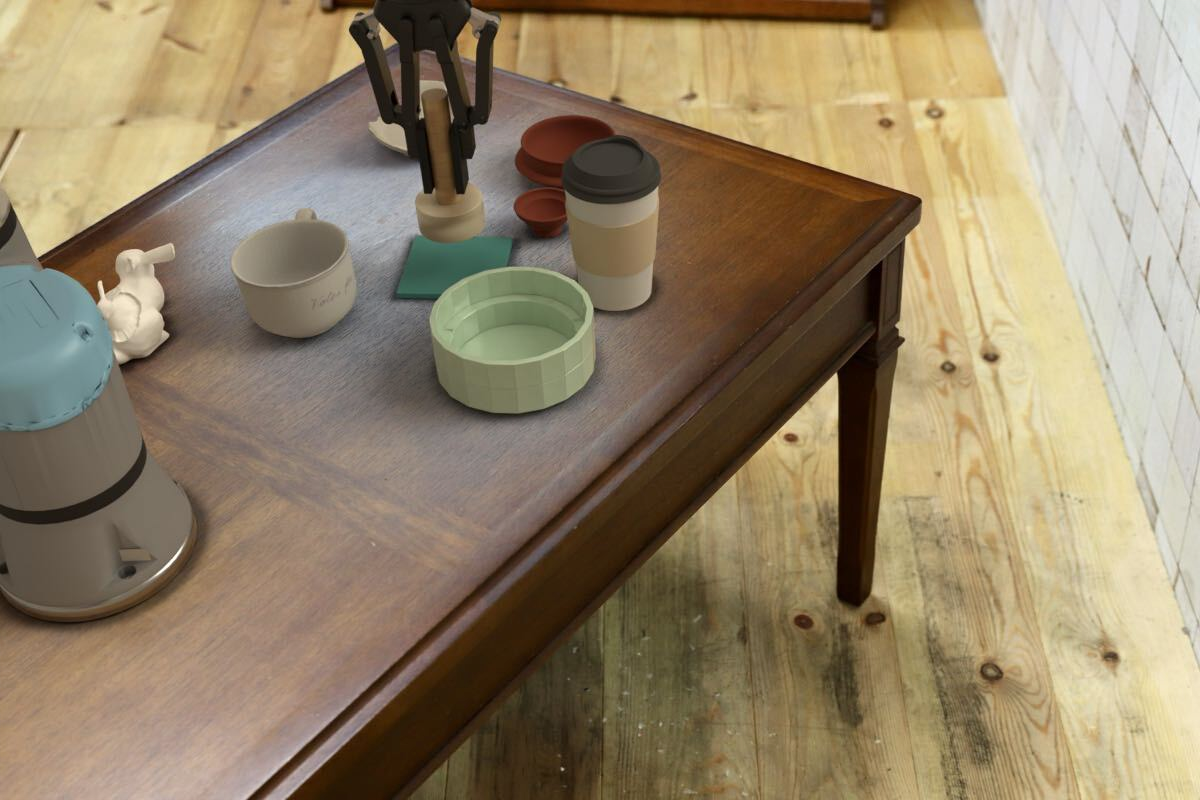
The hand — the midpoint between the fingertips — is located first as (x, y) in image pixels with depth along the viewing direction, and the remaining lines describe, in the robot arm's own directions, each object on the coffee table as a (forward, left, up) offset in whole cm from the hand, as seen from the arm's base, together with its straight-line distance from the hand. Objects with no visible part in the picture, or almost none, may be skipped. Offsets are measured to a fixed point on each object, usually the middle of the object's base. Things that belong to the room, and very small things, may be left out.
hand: (446, 186), depth 130 cm
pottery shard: (-8, +24, -10) cm, 27 cm away
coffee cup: (+16, -3, -10) cm, 19 cm away
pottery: (+9, +14, -10) cm, 19 cm away
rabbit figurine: (-27, -12, -10) cm, 31 cm away
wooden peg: (0, 0, -4) cm, 4 cm away
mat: (0, 0, -10) cm, 10 cm away
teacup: (-13, -7, -10) cm, 18 cm away
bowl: (+8, -15, -10) cm, 20 cm away
